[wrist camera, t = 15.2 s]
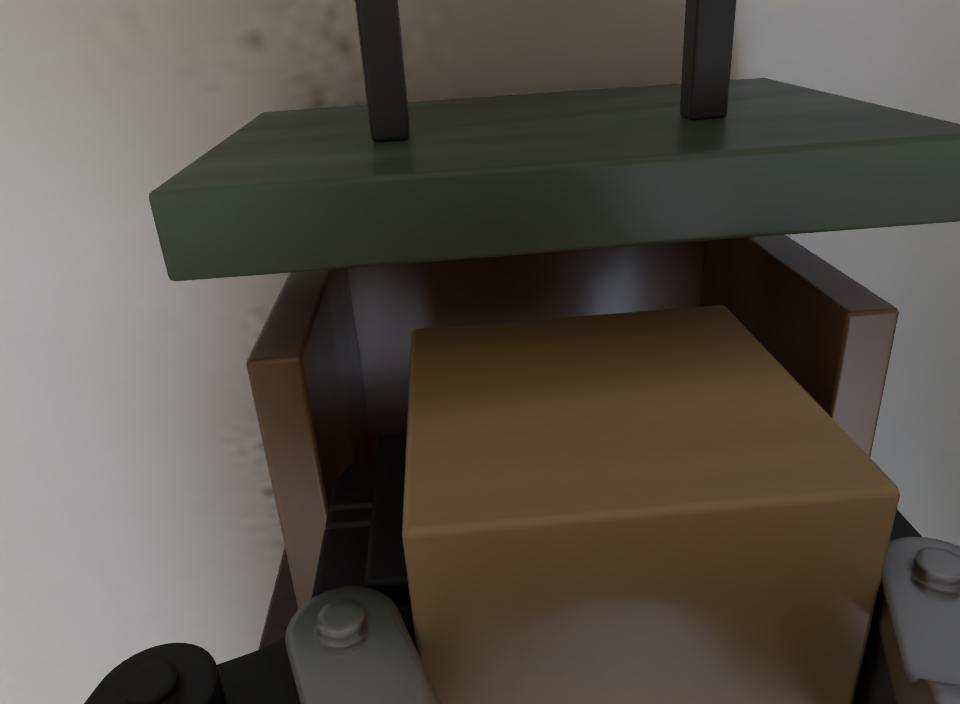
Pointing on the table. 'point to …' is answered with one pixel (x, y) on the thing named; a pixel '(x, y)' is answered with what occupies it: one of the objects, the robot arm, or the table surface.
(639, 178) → the drawer
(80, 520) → the table surface
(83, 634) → the table surface
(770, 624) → the block
